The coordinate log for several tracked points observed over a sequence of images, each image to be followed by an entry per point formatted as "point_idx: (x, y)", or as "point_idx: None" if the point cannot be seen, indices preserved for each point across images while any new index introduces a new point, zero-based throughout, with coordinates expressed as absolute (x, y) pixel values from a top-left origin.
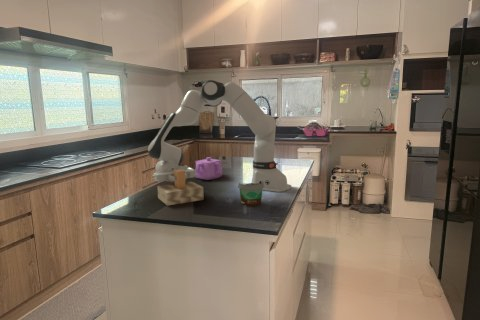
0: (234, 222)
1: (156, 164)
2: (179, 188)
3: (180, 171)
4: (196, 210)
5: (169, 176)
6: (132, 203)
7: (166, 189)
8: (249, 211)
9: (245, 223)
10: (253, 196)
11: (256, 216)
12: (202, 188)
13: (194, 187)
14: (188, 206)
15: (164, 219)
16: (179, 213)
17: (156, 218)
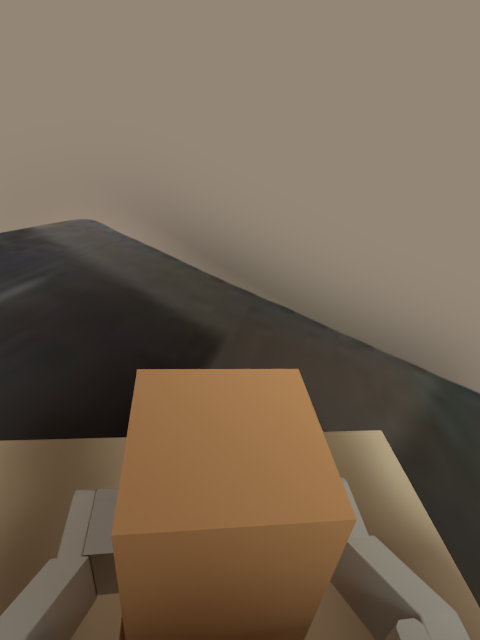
0: (134, 258)
1: None
2: None
3: (232, 371)
4: (194, 362)
5: (432, 604)
6: None
7: (401, 546)
8: (6, 284)
9: (112, 247)
10: None
11: (36, 258)
12: (2, 447)
13: (64, 481)
14: None
15: (354, 339)
16: (285, 363)
17: (390, 357)
